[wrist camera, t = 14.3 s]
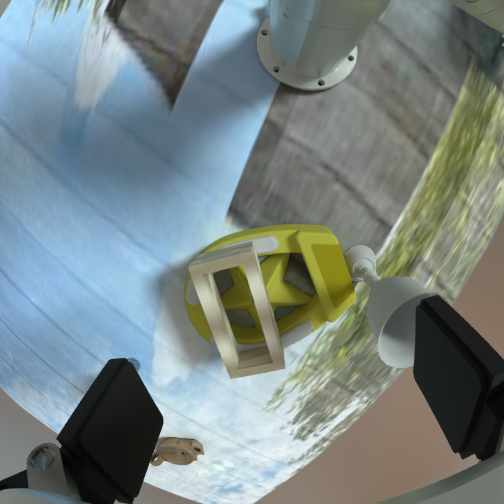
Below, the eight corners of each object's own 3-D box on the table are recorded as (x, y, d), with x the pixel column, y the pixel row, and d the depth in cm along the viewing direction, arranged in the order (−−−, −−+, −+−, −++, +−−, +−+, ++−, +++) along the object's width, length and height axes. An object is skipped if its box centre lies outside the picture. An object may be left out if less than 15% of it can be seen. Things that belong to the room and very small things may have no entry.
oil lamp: (194, 428, 49) (190, 448, 44) (214, 450, 51) (211, 469, 46) (143, 437, 51) (136, 454, 46) (163, 457, 53) (158, 474, 48)
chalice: (359, 297, 40) (409, 378, 23) (322, 271, 39) (360, 348, 22) (392, 256, 38) (464, 316, 21) (357, 226, 37) (422, 275, 20)
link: (195, 255, 35) (187, 266, 31) (252, 240, 34) (251, 250, 30) (233, 360, 39) (230, 378, 35) (283, 350, 38) (285, 368, 34)
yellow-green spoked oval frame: (355, 307, 41) (365, 324, 36) (222, 355, 44) (218, 376, 39) (316, 197, 37) (323, 202, 32) (170, 259, 40) (158, 272, 35)
